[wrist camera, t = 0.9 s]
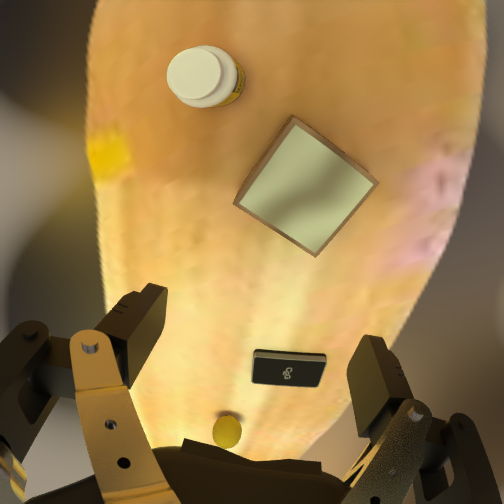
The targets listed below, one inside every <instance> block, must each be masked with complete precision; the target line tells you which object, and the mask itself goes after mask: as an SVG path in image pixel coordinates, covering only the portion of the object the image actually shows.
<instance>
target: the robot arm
mask: <svg viewBox="0 0 504 504" xmlns="http://www.w3.org/2000/svg"><path fill="white" fill-rule="evenodd" d="M167 295H168V289H167V288H166V287H163V286H159V285H156V284H152V283H148V284H147V285H146V286H145V288H144V289H143V290H142V291H141V292H140V293H139V292H136V291H133V292H131V293H129V294H126V295H124V296H123V297H122V298H121V299H120V300H119V301H118V303H117V304H116V305H115V306H114V307H113V308H112V310H110V312H109V313H108V314H107V315H106V316H105V317H104V318H103V319H102V321H101V322H100V323H99V324H98V325H97V326H96V327H95V329H94V330H84V331H80V332H78V333H76V334H75V335H74V336H73V337H72V338H71V339H66V338H59V337H54V336H50V334H49V330H48V328H47V326H46V325H45V324H44V323H42V322H40V321H35V320H30V321H25V322H22V323H20V324H19V325H17V326H16V327H15V328H14V329H13V330H12V331H11V332H10V333H9V334H8V335H7V336H6V337H5V338H4V339H3V340H2V342H1V343H0V504H402V503H403V501H404V499H405V497H406V495H407V493H408V491H409V489H410V487H411V485H412V483H413V487H414V493H415V499H416V504H502V501H501V497H500V493H499V490H498V487H497V484H496V481H495V478H494V474H493V471H492V468H491V465H490V463H489V460H488V457H487V454H486V451H485V449H484V446H483V444H482V441H481V438H480V436H479V433H478V431H477V429H476V426H475V424H474V422H473V421H472V420H471V419H470V418H469V417H468V416H467V415H465V414H463V413H455V414H453V415H452V416H451V417H450V418H449V419H448V420H447V421H444V420H441V419H438V418H434V417H433V415H432V412H431V410H430V408H429V407H428V406H427V405H426V404H425V403H423V402H422V401H420V400H417V399H414V397H413V394H412V392H411V389H410V387H409V384H408V382H407V379H406V377H405V376H404V372H403V370H402V369H401V368H402V367H401V365H400V363H399V360H398V359H397V357H396V356H395V355H394V354H393V353H392V352H391V351H390V350H388V349H387V346H386V344H385V341H384V339H383V338H382V337H378V336H372V335H367V334H366V335H364V336H363V337H362V339H361V341H360V343H359V345H358V347H357V348H356V350H355V352H354V354H353V356H352V358H351V360H350V362H349V364H348V368H347V380H348V384H349V389H350V394H351V399H352V404H353V409H354V414H355V420H356V425H357V431H358V436H359V437H363V438H370V441H371V442H370V443H369V444H368V445H367V446H366V448H365V449H364V450H363V452H362V453H361V455H360V456H359V457H358V459H357V460H356V462H355V463H354V464H353V466H352V467H351V468H350V470H349V471H348V473H347V474H346V475H345V476H344V477H343V479H342V480H340V479H339V478H337V477H335V476H333V475H331V474H328V473H326V472H323V471H322V469H321V462H316V461H304V460H294V459H283V460H271V461H251V460H249V459H246V458H244V457H241V456H239V455H236V454H234V453H232V452H229V451H227V450H225V449H222V448H220V447H217V446H213V445H209V444H205V443H201V442H197V441H193V440H189V439H186V438H184V441H183V444H182V447H179V446H167V447H158V448H154V449H151V447H150V445H149V442H148V440H147V438H146V435H145V433H144V431H143V428H142V426H141V423H140V420H139V418H138V415H137V413H136V410H135V407H134V405H133V402H132V399H131V396H130V393H129V391H128V389H131V387H132V385H133V383H134V381H135V379H136V378H137V376H138V374H139V372H140V370H141V369H142V367H143V365H144V363H145V362H146V360H147V358H148V356H149V355H150V353H151V351H152V349H153V347H154V346H155V344H156V342H157V340H158V339H159V337H160V335H161V333H162V331H163V328H164V324H165V317H166V305H167ZM59 397H65V398H71V399H76V402H77V407H78V412H79V417H80V421H81V426H82V430H83V434H84V438H85V442H86V446H87V450H88V453H89V457H90V460H91V464H92V467H93V470H94V473H95V474H94V475H92V476H90V477H87V478H85V479H82V480H80V481H77V482H75V483H72V484H70V485H67V486H64V487H62V488H59V489H56V490H53V491H50V492H48V493H45V494H42V495H39V496H36V497H33V498H31V499H29V500H27V501H26V498H25V493H24V492H25V486H26V482H27V476H26V472H25V470H24V468H23V466H22V465H21V463H22V462H23V460H24V458H25V456H26V454H27V452H28V450H29V449H30V447H31V445H32V443H33V441H34V440H35V438H36V436H37V434H38V433H39V431H40V429H41V427H42V426H43V424H44V422H45V421H46V419H47V417H48V416H49V414H50V412H51V411H52V409H53V407H54V406H55V404H56V402H57V401H58V399H59ZM449 461H451V464H452V468H453V472H454V481H453V483H452V485H451V486H450V487H449V485H448V481H447V477H446V473H445V469H444V465H445V464H446V463H447V462H449Z"/></svg>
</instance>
